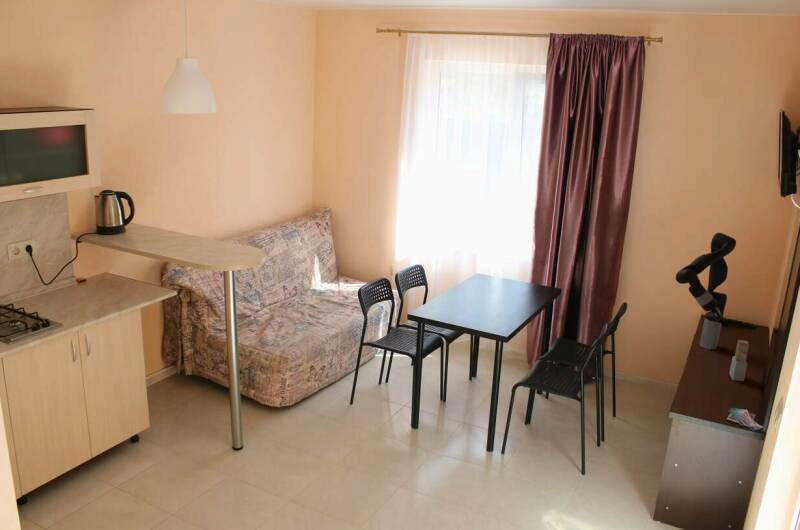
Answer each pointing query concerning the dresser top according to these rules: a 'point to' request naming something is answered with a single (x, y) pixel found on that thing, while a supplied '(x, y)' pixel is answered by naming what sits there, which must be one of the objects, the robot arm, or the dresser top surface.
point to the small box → (738, 370)
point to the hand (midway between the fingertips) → (725, 323)
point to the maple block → (741, 351)
